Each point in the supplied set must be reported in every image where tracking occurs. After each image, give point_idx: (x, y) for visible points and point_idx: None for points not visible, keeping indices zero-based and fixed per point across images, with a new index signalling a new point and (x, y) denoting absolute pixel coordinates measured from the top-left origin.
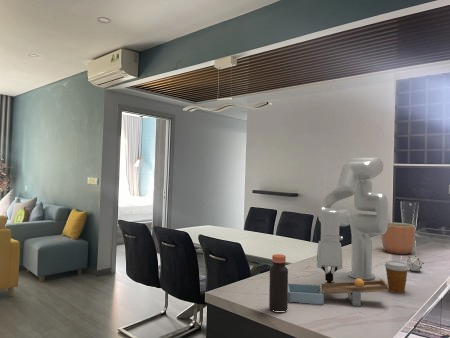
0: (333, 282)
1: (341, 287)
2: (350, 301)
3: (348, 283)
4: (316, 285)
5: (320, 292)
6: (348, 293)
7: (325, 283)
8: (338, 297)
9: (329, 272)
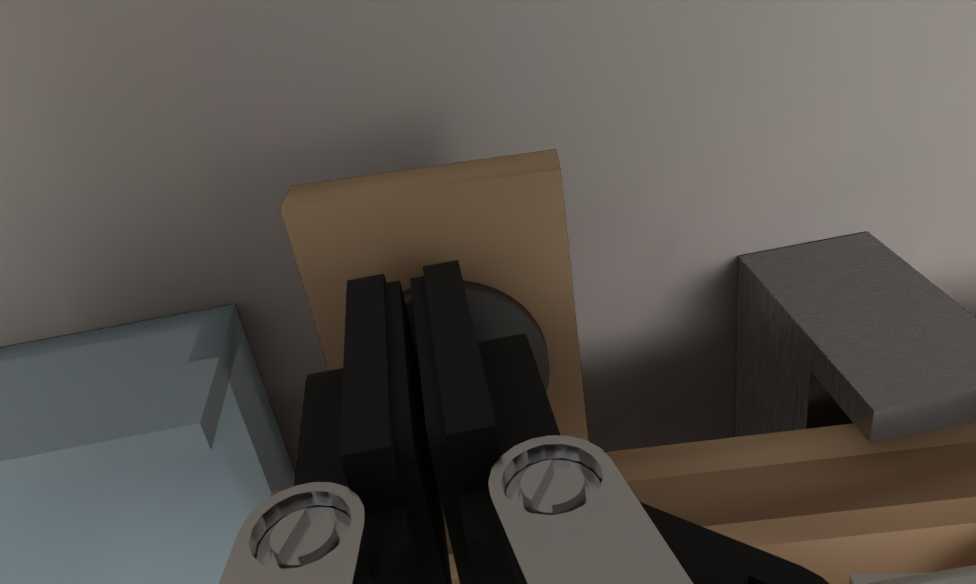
0: (538, 339)
1: None
2: None
3: (885, 520)
4: (125, 465)
5: (258, 475)
6: (779, 383)
7: (323, 328)
8: (579, 303)
9: (448, 442)
